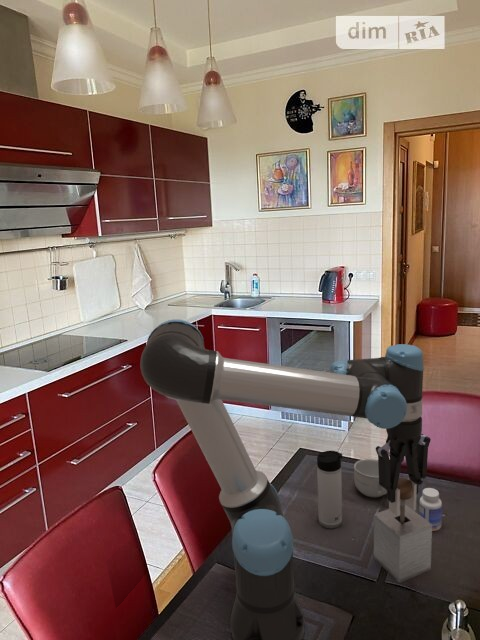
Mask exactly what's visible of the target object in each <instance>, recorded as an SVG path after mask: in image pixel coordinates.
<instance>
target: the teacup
mask: <svg viewBox="0 0 480 640" xmlns="http://www.w3.org/2000/svg"><path fill="white" fill-rule="evenodd" d="M353 469H354V472H353V476H354V477H353V480H354V485H355V487H356V489H357V490H358V491H359V492H360V493H362V495H364V496H366V497H369V498H380V497H382V496H384V495H387V490H386V489H384V488H383V487H382V486H381V485H379V468H378V459H373V458H366V459H365V458H364V459H359V460H357V461H355V463H354V465H353Z"/></svg>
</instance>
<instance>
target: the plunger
mask: <svg viewBox="0 0 480 640" xmlns="http://www.w3.org/2000/svg"><path fill="white" fill-rule="evenodd" d="M408 479H409V478H405V477H399V480H398V485H397V488H398V489H399V490H400V523H401V524H403V523H405V500H408V499H410V498H411V497H412V482H411V481H410V480H408Z"/></svg>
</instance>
